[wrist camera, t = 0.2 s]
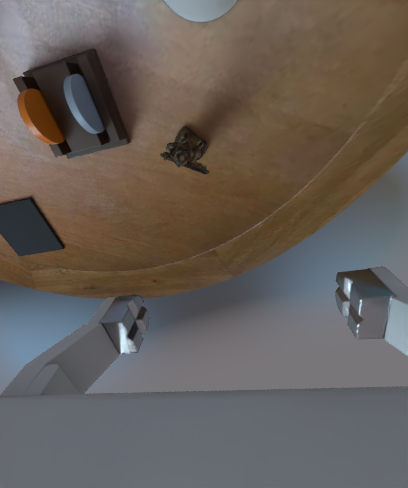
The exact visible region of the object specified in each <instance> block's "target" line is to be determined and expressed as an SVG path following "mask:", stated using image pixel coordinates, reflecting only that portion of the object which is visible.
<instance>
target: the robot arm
mask: <svg viewBox="0 0 408 488" xmlns="http://www.w3.org/2000/svg"><path fill="white" fill-rule="evenodd" d="M164 1H165V2H166V4H167V5H168V6H169V7H170V8H171V9H172V10H173V11H174V12H175V13H177V14H178V15H179V16H181V17H183V18H185V19H187V20H190V21H194V22H207V21H211V20H214V19H217V18H219V17H220V16H222V15H224V14H225V13H226V12H227V11H229V10H230V9H231V8H232V7H233V6H234V5H235V3H236V2H237V1H238V0H164ZM336 282H337V283H338V285H339V287H338V289H337V290H336V302H337V306H338V308H339V310H340V312H341V314H342V315H343V316H345V317H346V318H348V326H349V328H350V329H351V331H352V333H353V334H354V336H355V338H356V339H382V338H384V340H385V341H387V342H388V343H390V344H391V345H393V346H394V347H395V348H397V349H398V350H400V351H401V352H403V353H404V354H406V355H407V356H408V287H407V286H406V285H405V284H404V283H402V282H401V281H400V280H399V279H398V278H397V277H396V276H395V275H394V274H393V273H391V272H390V271H389V270H388V269H387V268H385V267H376V268H368V269H364V270H355V271H347V272H338V273H337V278H336ZM142 304H143V300H142V297H141V296H140V295H129V296H118V297H109V298H107V299H105V300H104V302H103V303H102V305H101V306H100V308H99V309H98V310H97V311H96V313H95V314H94V316H93V317H92V318H91V320H90V321H89V322H88V324H87V325H83V326H81V327H80V328H79V329H77V330H76V331H74V332H73V333H71V334H70V335H68V336H67V337H65V338H64V339H63V340H61V341H60V342H58V343H57V344H55V345H54V346H52V347H51V348H49V349H48V350H47V351H45V352H44V353H42V354H41V355H40V356H38V357H37V358H35V359H33V360H32V361H31V362H29V363H28V364H26V365H25V366H24V368H23V369H22V370H21V371H20V372H19V374H18V375H17V376H16V377H15V378H14V379H13V381H12V382H11V383H10V384H9V385H8V387H7V388H6V389H5V390H4V391H3V393H2V394H1V395H0V488H408V386H404V387H402V386H401V387H359V388H318V389H317V388H315V389H274V390H234V391H233V390H232V391H190V392H189V391H186V392H146V393H145V392H144V393H143V392H142V393H101V394H100V393H99V394H84V393H85V392H86V391H87V389H88V388H89V387H90V386H91V385H92V384H93V383H94V382H95V381H96V380H97V379H98V378H99V377H100V376H101V375H102V373H103V372H104V371H105V370H106V369H107V368H108V367H109V366H110V365H111V364H112V363H113V362H114V361H115V360H116V359H117V357H118V356H119V354H126V353H137V352H138V351H139V349H140V346H141V344H142V341H143V337H142V334H144V333H145V332H146V331H147V329H148V326H149V319H150V318H149V313H148V311H147V309H146V308H145V307H143V306H142Z"/></svg>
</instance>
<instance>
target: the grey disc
mask: <svg viewBox="0 0 408 488" xmlns="http://www.w3.org/2000/svg"><path fill="white" fill-rule="evenodd" d="M64 93H65V97H66V100H67V103H68V105H69V108H70V110H71V112H72V114H73V115H74V117H75V118H76V120H77V121H78V123H79V124H80V125H81V126H82V127H83V128H84V129H85V130H86V131H88V132H90V133H92V134H96V133H100V132H103V131H104V130H105V125H104V122H103V120H102V117H101V115H100V113H99V110H98V108H97V105H96V103H95V100H94V98H93V96H92V93H91V91H90V88H89V86H88V83H87V81H86V79H85V78H84V77H83V76H81V75H79V74H74V75H71V76H68V77H66V78H65V80H64Z"/></svg>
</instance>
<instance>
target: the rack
mask: <svg viewBox="0 0 408 488" xmlns="http://www.w3.org/2000/svg"><path fill="white" fill-rule="evenodd" d="M23 74H24V76H25V77H23V76H20V77H17V78H14V79H13V81H14V83H15V84H16V86H17V88H18V90H19V92H20V93H21V92H22V91H25V90H28V89H37V90H39V91H41V92H42V94H43V96H44V98H45V100H46V102H47V104H48V106H49V108H50V110H51V112H52V113H53V115H54V117H55V119H56V121H57V123H58V125H59V127H60V129H61V131H62V133H63V135H64V137H65V140H64V141H63V142H62V143H59V144H54V145H51V144H49V146H50V148H51V149H52V151H53V153H54V155H55V157H58V156H62V155H65V154H66V156H67V158H68V159H69V158H73V157H77V156H81V155H85V154H89V153H93V152H97V151H101V150H105V149H109V148H113V147H117V146H121V145H125V144H129V143H130V141H129V138H128V136H127V133H126V130H125V128H124V125H123V122H122V120H121V117H120V114H119V112H118V109H117V106H116V104H115V101H114V98H113V96H112V93H111V90H110V87H109V85H108V82H107V79H106V77H105V74H104V71H103V69H102V66H101V63H100V61H99V58H98V55H97V53H96V50H95V49H90V50H87V51H84V52H81V53H79V54H76V55H73V56H70V57H67V58H64V59H61V60H58V61H55V62H52V63H50V64H47V65H44V66H41V67H38V68H35V69H32V70H29V71H26V72H23ZM74 74H79V75H81V76H83V77H84V78H85V79H86V81H87V83H88V86H89V88H90V91H91V93H92V96H93V98H94V100H95V103H96V105H97V108H98V110H99V113H100V115H101V117H102V120H103V122H104V125H105V130H104V131H103V132H100V133H96V134H92V133H90V132H88V131H86V130H85V129H84V128H83V127H82V126H81V125H80V124H79V123H78V121H77V120H76V118H75V117H74V115H73V114H72V112H71V110H70V108H69V105H68V103H67V100H66V97H65V93H64V80H65V78H66V77H68V76H71V75H74Z"/></svg>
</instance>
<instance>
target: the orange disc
mask: <svg viewBox="0 0 408 488" xmlns="http://www.w3.org/2000/svg"><path fill="white" fill-rule="evenodd" d="M18 108H19V112H20V114H21V117H22V119H23V121H24V122H25V124H26V125H27V127H28V128H29V129H30V131H31V132H32V133H33V134H34V135H35V136H36V137H37V138H39V139H40V140H41V141H43V142H45V143H47V144H51V145H54V144H59V143H62V142H63V141H64V140H65V137H64V135H63V133H62V131H61V129H60V127H59V125H58V123H57V121H56V119H55V117H54V115H53V113H52V112H51V110H50V108H49V106H48V104H47V102H46V100H45V98H44V96H43V94H42V92H41V91H39V90H37V89H28V90H25V91H22V92H21V93H20V94H19V96H18Z"/></svg>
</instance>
